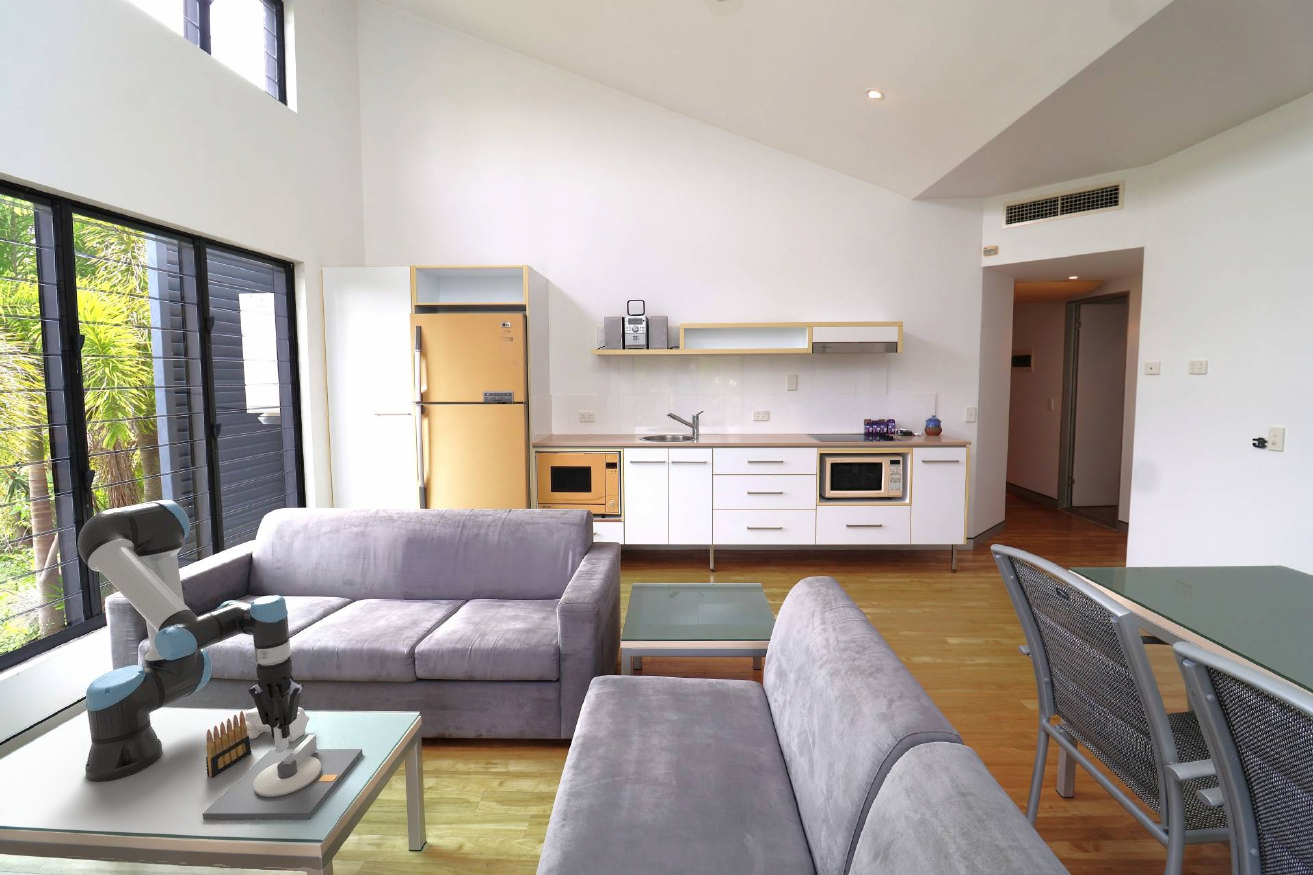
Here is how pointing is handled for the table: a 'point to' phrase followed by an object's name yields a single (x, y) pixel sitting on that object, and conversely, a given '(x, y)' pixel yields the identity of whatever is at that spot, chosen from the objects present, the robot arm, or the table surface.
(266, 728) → the white bone
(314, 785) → the dial base
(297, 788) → the dial
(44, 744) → the table surface
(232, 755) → the ammunition clip
